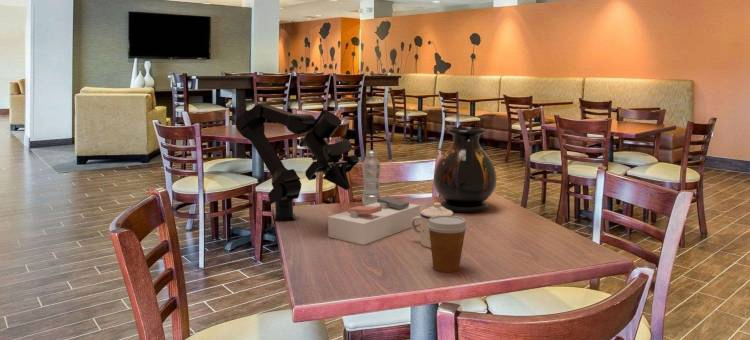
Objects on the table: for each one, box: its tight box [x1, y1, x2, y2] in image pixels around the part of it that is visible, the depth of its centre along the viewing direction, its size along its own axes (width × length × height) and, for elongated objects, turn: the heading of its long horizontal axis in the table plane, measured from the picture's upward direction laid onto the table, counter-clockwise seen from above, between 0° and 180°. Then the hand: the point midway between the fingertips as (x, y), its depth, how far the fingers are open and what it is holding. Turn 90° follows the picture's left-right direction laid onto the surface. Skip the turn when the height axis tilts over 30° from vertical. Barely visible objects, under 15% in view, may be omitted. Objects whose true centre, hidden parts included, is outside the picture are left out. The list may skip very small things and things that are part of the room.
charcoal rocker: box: [377, 195, 410, 209], centre depth 174 cm, size 8×5×1 cm, turn 53°
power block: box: [327, 202, 421, 246], centre depth 170 cm, size 13×28×8 cm, turn 143°
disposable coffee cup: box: [427, 215, 468, 273], centre depth 136 cm, size 10×10×12 cm
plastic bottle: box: [361, 149, 382, 206], centre depth 198 cm, size 6×7×20 cm
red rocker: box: [347, 205, 382, 214], centre depth 163 cm, size 8×5×1 cm, turn 52°
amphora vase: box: [433, 126, 497, 214], centre depth 197 cm, size 22×22×28 cm
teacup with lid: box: [411, 201, 455, 249], centre depth 156 cm, size 12×9×12 cm
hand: (348, 189), depth 166 cm, fingers closed
